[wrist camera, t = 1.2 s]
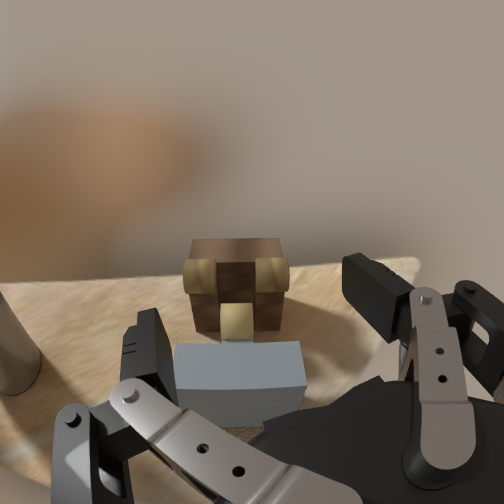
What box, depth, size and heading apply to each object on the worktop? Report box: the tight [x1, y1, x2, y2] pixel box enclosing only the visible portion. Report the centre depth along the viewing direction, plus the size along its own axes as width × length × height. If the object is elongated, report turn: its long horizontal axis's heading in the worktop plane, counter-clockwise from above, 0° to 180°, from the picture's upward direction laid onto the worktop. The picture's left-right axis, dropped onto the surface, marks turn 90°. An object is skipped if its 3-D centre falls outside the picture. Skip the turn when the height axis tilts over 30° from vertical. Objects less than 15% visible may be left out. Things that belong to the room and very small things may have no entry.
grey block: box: [173, 303, 307, 428], centre depth 26 cm, size 10×8×11 cm
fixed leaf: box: [183, 238, 290, 332], centre depth 34 cm, size 10×8×11 cm
